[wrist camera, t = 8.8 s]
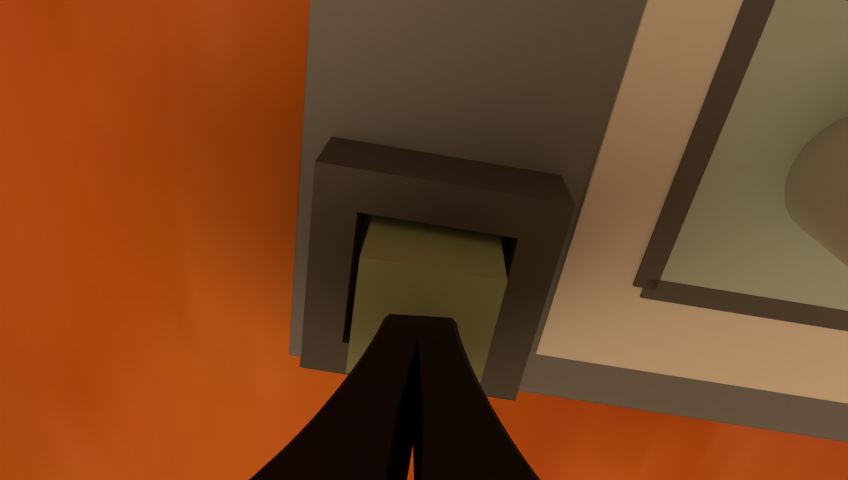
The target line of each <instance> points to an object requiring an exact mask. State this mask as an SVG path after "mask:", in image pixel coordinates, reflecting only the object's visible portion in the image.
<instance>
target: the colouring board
mask: <svg viewBox="0 0 848 480" xmlns="http://www.w3.org/2000/svg"><path fill="white" fill-rule="evenodd" d="M846 117H848V0H310V14H309V31H308V47H307V64H306V80H305V97H304V114H303V130H302V147H301V164H300V180H299V197H298V213H297V230H296V247H295V263H294V280H293V297H292V313H291V330H290V346H289V355H294V356H300V357H301V360H300V367H302V368H308V369H315V370H321V371H328V372H334V373H340V374H347V375H349V373H346V365H347V357H348V349H349V341H350V333H351V324H352V316H353V308H354V300H355V291H356V283H357V275H358V267H359V258H360V254H361V251H362V248H363V245H364V241H365V238H366V235H367V232H368V229H369V225H370V222H371V219H372V216H373V215H375V216H381V217H387V218H393V219H399V220H405V221H411V222H417V223H423V224H430V225H436V226H442V227H448V228H454V229H460V230H466V231H472V232H478V233H484V234H490V235H496V236H500V237H501V243H502V250H503V256H504V262H505V268H506V274H507V285H506V289H505V292H504V296H503V300H502V304H501V307H500V311H499V315H498V319H497V322H496V326H495V330H494V334H493V337H492V341H491V345H490V348H489V352H488V356H487V360H486V363H485V367H484V371H483V375H482V378H481V382H480V385H481V387H482V389H483V391H484V393H485V395H486V396H488V397H494V398H501V399H507V400H513V401H515V399H516V396H517V392H518V391H524V392H530V393H537V394H543V395H549V396H556V397H562V398H569V399H575V400H581V401H588V402H594V403H601V404H607V405H613V406H620V407H626V408H632V409H639V410H645V411H652V412H658V413H664V414H671V415H677V416H684V417H690V418H696V419H703V420H709V421H715V422H722V423H728V424H735V425H741V426H747V427H754V428H760V429H767V430H773V431H779V432H786V433H792V434H798V435H805V436H811V437H818V438H824V439H830V440H837V441H843V442H848V267H847V266H846V265H844V264H843V263H842V262H841V261H840V260H838V259H837V258H836V257H835V256H834V255H832V254H831V253H830V252H829V251H828V250H826V249H825V248H824V247H823V246H822V245H820V244H819V243H818V242H817V241H816V240H814V239H813V238H812V237H811V236H810V235H808V234H807V233H806V232H805V231H803V230H802V229H801V228H800V227H799V226H798V225H797V224H796V223H795V222H794V221H793V220H792V218H791V217H790V215H789V213H788V211H787V208H786V204H785V196H784V192H785V184H786V179H787V176H788V173H789V170H790V168H791V166H792V164H793V162H794V160H795V159H796V157H797V156H798V154H799V153H800V152H801V151H802V149H803V148H804V147H805V146H806V145H807V144H808V143H809V142H810V141H811V140H812V139H813V138H814V137H815V136H816V135H817V134H819V133H820V132H821V131H823V130H824V129H826V128H827V127H829V126H830V125H832V124H834V123H835V122H837V121H839V120H841V119H844V118H846Z"/></svg>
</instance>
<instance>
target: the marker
mask: <svg viewBox="0 0 848 480" xmlns="http://www.w3.org/2000/svg"><path fill="white" fill-rule="evenodd" d="M784 196H785V204H786V208H787V211H788V213H789V215H790V217H791V218H792V220H793V221H794V222H795V223H796V224H797V225H798V226H799V227H800V228H801V229H802V230H803V231H805V232H806V233H807V234H808V235H810V236H811V237H812V238H813V239H814V240H816V241H817V242H818V243H819V244H820V245H822V246H823V247H824V248H825V249H826V250H828V251H829V252H830V253H831V254H832V255H834V256H835V257H836V258H837V259H838V260H840V261H841V262H842V263H843V264H844V265H846V266H847V267H848V117H846V118H844V119H841V120H839V121H837V122H835V123H834V124H832V125H830V126H829V127H827V128H826V129H824V130H823V131H821V132H820V133H819V134H817V135H816V136H815V137H814V138H813V139H812V140H811V141H810V142H809V143H808V144H807V145H806V146H805V147H804V148H803V149H802V151H801V152H800V153H799V154H798V156H797V157H796V159H795V160H794V162H793V164H792V166H791V168H790V170H789V173H788V176H787V179H786V184H785V192H784Z"/></svg>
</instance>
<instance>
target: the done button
mask: <svg viewBox="0 0 848 480" xmlns="http://www.w3.org/2000/svg"><path fill="white" fill-rule="evenodd" d="M506 285H507V274H506V268H505V262H504V256H503V250H502V243H501V237H500V236H496V235H490V234H484V233H478V232H472V231H466V230H460V229H454V228H448V227H442V226H436V225H430V224H423V223H417V222H411V221H405V220H399V219H393V218H387V217H381V216H375V215H373V216H372V219H371V222H370V225H369V229H368V232H367V235H366V238H365V241H364V245H363V248H362V251H361V254H360V258H359V267H358V275H357V283H356V291H355V300H354V308H353V316H352V324H351V333H350V341H349V349H348V357H347V365H346V373H350V372H351V371H352V369H353V368H354V366H355V365H356V364H357V362H358V361H359V359H360V358H361V357H362V355H363V354H364V352H365V351H366V349H367V348H368V346H369V344H370V343H371V341H372V340H373V338H374V336H375V335H376V333H377V331H378V329H379V327H380V325H381V323H382V321H383V319H384V318H385V317H386V316H388V315H389V314H399V315H415V316H432V317H448V318H453V320H454V321H455V322H456V323H457V326H458V331H459V334H460V338H461V341H462V344H463V346H464V349H465V352H466V354H467V357H468V359H469V362H470V364H471V366H472V368H473V371H474V373H475V375H476V377H477V379H478V381H479V383H480V382H481V378H482V375H483V371H484V367H485V363H486V360H487V356H488V352H489V348H490V345H491V341H492V337H493V334H494V330H495V326H496V322H497V319H498V315H499V311H500V307H501V304H502V300H503V296H504V292H505V289H506Z"/></svg>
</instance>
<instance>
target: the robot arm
mask: <svg viewBox="0 0 848 480" xmlns="http://www.w3.org/2000/svg"><path fill="white" fill-rule="evenodd" d="M412 448H413V457H414V480H540V479H539V478H538V476H537V475H536V474H535V472H534V471H533V470H532V468H531V467H530V465H529V464H528V463H527V461H526V460H525V458H524V457H523V456H522V454H521V453H520V451H519V450H518V448H517V447H516V445H515V444H514V442H513V441H512V439H511V438H510V436H509V435H508V433H507V431H506V430H505V428H504V427H503V425H502V423H501V421H500V420H499V418H498V416H497V415H496V413H495V411H494V410H493V408H492V406H491V404H490V402H489V401H488V399H487V397H486V395H485V393H484V391H483V389H482V387H481V385H480V383H479V381H478V379H477V377H476V375H475V373H474V371H473V368H472V366H471V364H470V362H469V359H468V357H467V354H466V352H465V349H464V346H463V344H462V341H461V338H460V334H459V331H458V326H457V323H456V322H455V321H454V320H453V318H448V317H432V316H415V315H399V314H389V315H388V316H386V317H385V318H384V319H383V321H382V323H381V325H380V327H379V329H378V331H377V333H376V335H375V336H374V338H373V340H372V341H371V343H370V344H369V346H368V348H367V349H366V351H365V352H364V354H363V355H362V357H361V358H360V359H359V361H358V362H357V364H356V365H355V366H354V368H353V369H352V371H351V372H350V373H349V375H348V376H347V378H346V379H345V380H344V382H343V383H342V384H341V385H340V387H339V388H338V389H337V390H336V391H335V393H334V394H333V395H332V396H331V398H330V399H329V400H328V401H327V402H326V404H325V405H324V406H323V407H322V408H321V410H320V411H319V412H318V413H317V414H316V415H315V416H314V418H313V419H312V420H311V421H310V422H309V423H308V424H307V425H306V426H305V427H304V428H303V429H302V430H301V431H300V433H299V434H298V435H297V436H296V437H295V438H294V439H293V440H292V441H291V442H290V443H289V444H288V445H287V446H286V447H285V448H284V449H283V450H281V451H280V452H279V453H278V454H277V455H276V456H275V457H274V458H273V459H272V460H271V461H269V462H268V463H267V464H266V465H265V466H264V467H263V468H262V469H261V470H260V471H258V472H257V473H256V474H255V475H254V476H253V477H252V478H251V479H249V480H407V476H408V470H409V465H410V459H411V453H412Z"/></svg>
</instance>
